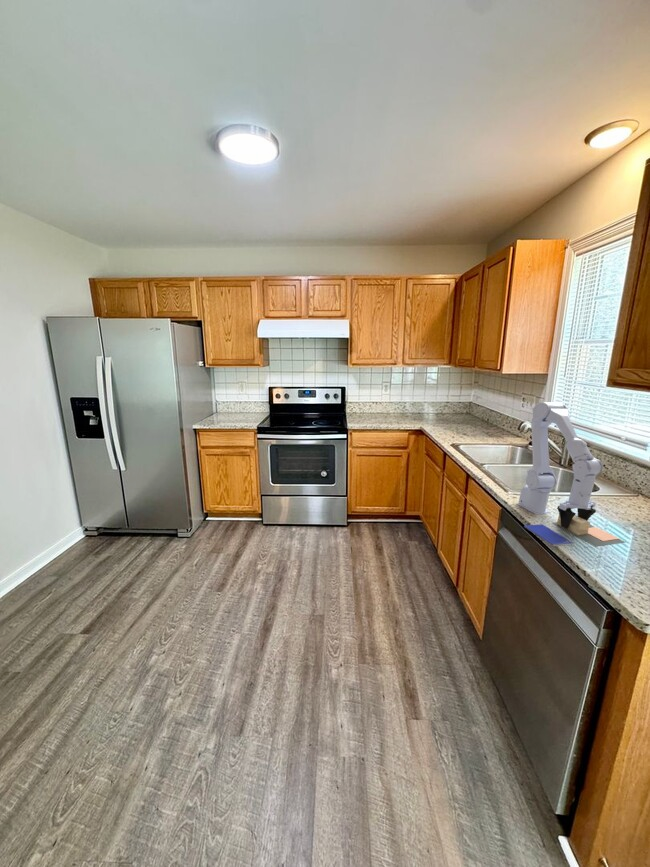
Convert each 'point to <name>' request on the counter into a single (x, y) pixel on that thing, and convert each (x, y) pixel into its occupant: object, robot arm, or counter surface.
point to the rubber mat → (592, 538)
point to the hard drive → (548, 535)
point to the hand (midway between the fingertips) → (572, 526)
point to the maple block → (577, 525)
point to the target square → (601, 534)
